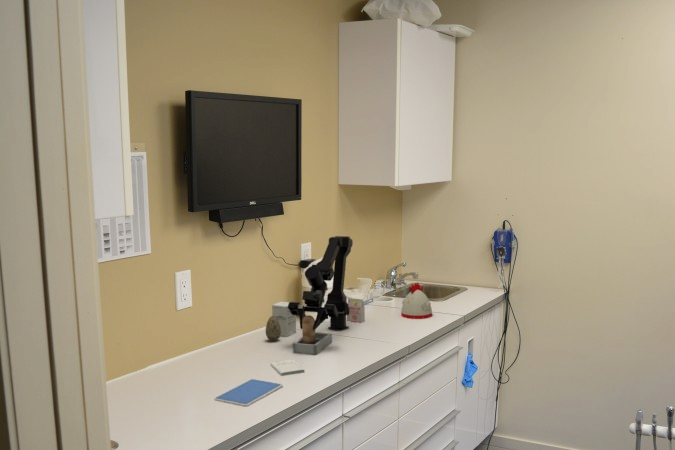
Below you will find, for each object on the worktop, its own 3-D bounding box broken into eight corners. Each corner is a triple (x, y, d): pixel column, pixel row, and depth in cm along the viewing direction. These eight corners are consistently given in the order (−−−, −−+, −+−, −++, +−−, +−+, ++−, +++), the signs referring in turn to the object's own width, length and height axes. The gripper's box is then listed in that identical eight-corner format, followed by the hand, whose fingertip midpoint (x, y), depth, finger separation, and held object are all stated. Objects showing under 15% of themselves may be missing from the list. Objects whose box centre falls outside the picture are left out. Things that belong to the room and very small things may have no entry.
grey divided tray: (310, 340, 258) (310, 332, 258) (331, 342, 255) (331, 333, 255) (293, 352, 242) (293, 343, 242) (316, 354, 239) (315, 345, 239)
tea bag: (350, 319, 291) (350, 297, 290) (364, 321, 289) (364, 298, 288) (347, 321, 288) (346, 299, 287) (361, 323, 285) (360, 300, 284)
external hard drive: (281, 377, 217) (270, 366, 229) (304, 374, 220) (292, 363, 232) (281, 372, 217) (270, 362, 228) (304, 369, 220) (292, 359, 232)
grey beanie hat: (394, 315, 298) (394, 283, 296) (415, 310, 307) (414, 279, 305) (418, 320, 287) (418, 287, 286) (438, 315, 297) (438, 282, 295)
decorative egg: (272, 337, 264) (272, 313, 263) (284, 340, 260) (283, 315, 259) (262, 341, 259) (262, 316, 258) (274, 343, 255) (273, 318, 254)
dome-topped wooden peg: (313, 343, 248) (313, 313, 247) (317, 346, 243) (316, 316, 242) (301, 344, 247) (300, 314, 245) (304, 347, 242) (303, 317, 241)
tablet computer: (246, 409, 190) (246, 404, 190) (212, 401, 196) (212, 397, 196) (283, 388, 207) (283, 384, 207) (251, 382, 213) (251, 378, 213)
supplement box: (272, 335, 268) (271, 304, 267) (281, 330, 274) (281, 301, 273) (287, 337, 265) (286, 306, 263) (296, 332, 271) (296, 302, 270)
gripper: (288, 280, 249) (277, 316, 240) (335, 283, 243) (325, 319, 234) (297, 296, 258) (286, 331, 248) (342, 299, 252) (333, 335, 242)
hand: (307, 329), depth 243 cm, fingers closed on dome-topped wooden peg, 5 cm apart
